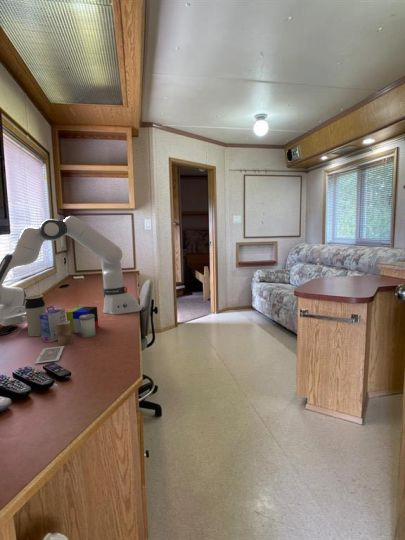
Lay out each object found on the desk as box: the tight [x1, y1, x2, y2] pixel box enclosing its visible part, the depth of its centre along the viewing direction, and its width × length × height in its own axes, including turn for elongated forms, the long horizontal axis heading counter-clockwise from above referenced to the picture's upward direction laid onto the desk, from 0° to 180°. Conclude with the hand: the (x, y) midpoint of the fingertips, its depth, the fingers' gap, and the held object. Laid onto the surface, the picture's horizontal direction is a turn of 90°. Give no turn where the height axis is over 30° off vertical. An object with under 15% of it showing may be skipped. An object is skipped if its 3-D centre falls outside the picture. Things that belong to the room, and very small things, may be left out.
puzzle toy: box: [65, 306, 99, 334], centre depth 149 cm, size 10×10×10 cm
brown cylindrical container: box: [56, 320, 73, 347], centre depth 131 cm, size 5×5×9 cm
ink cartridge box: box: [39, 305, 67, 343], centre depth 137 cm, size 10×6×14 cm, turn 161°
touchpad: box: [34, 345, 65, 364], centre depth 118 cm, size 8×15×2 cm, turn 16°
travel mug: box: [24, 294, 47, 337], centre depth 144 cm, size 8×8×18 cm
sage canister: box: [79, 314, 96, 338], centre depth 140 cm, size 6×6×9 cm
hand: (31, 318), depth 147 cm, fingers closed
